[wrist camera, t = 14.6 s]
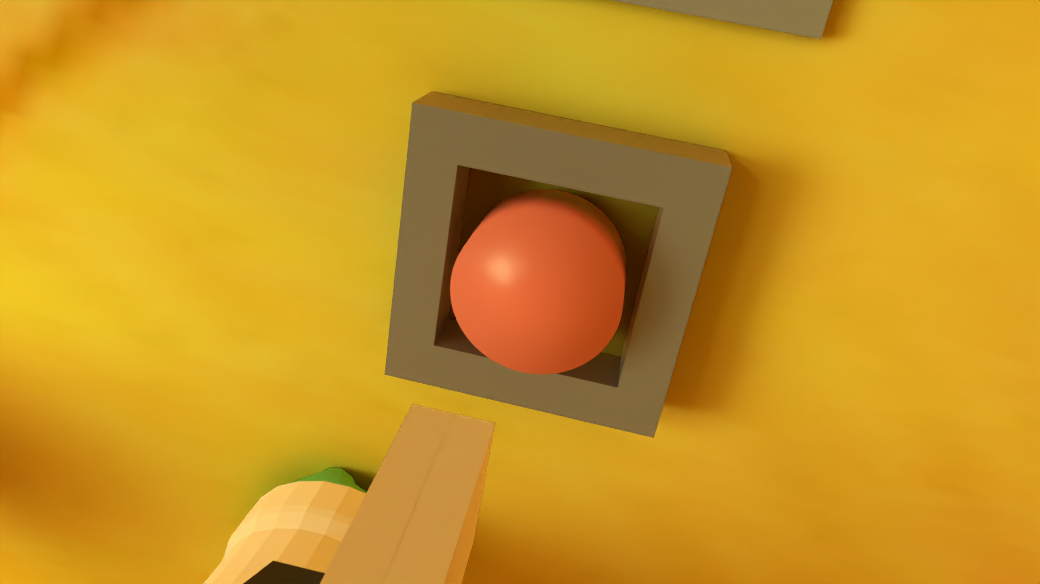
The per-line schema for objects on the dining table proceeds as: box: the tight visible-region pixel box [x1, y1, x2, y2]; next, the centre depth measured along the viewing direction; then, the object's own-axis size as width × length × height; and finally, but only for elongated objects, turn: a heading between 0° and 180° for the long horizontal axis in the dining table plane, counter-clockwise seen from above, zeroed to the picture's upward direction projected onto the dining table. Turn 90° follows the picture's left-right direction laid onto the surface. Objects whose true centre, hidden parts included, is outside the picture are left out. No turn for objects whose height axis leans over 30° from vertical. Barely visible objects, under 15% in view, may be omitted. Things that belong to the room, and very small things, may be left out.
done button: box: [450, 189, 627, 374], centre depth 23 cm, size 5×5×2 cm
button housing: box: [385, 92, 732, 438], centre depth 24 cm, size 9×9×2 cm
